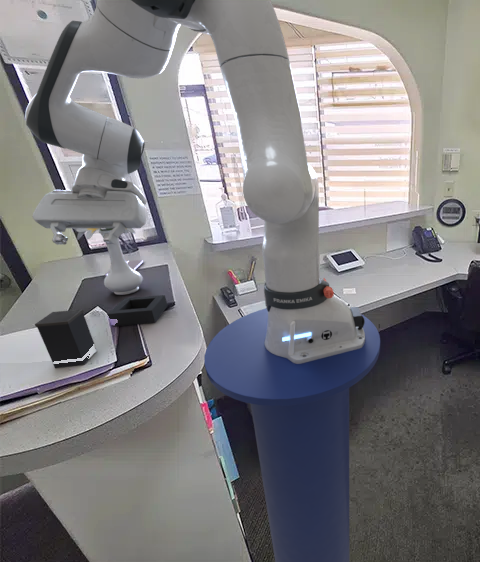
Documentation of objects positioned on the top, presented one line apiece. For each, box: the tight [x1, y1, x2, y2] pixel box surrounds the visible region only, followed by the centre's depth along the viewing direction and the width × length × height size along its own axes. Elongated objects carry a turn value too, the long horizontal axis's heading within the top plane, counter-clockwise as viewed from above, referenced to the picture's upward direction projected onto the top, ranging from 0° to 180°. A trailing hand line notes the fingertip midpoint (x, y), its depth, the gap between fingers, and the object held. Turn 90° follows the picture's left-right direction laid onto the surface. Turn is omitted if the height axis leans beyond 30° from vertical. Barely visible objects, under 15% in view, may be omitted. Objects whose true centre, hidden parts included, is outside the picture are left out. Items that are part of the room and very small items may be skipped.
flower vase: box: [72, 228, 144, 296], centre depth 90 cm, size 13×18×25 cm
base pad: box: [106, 294, 168, 327], centre depth 80 cm, size 9×9×4 cm
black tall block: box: [34, 309, 95, 369], centre depth 61 cm, size 5×5×10 cm
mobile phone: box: [104, 259, 144, 277], centre depth 111 cm, size 8×1×15 cm
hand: (84, 243), depth 67 cm, fingers open, 8 cm apart
